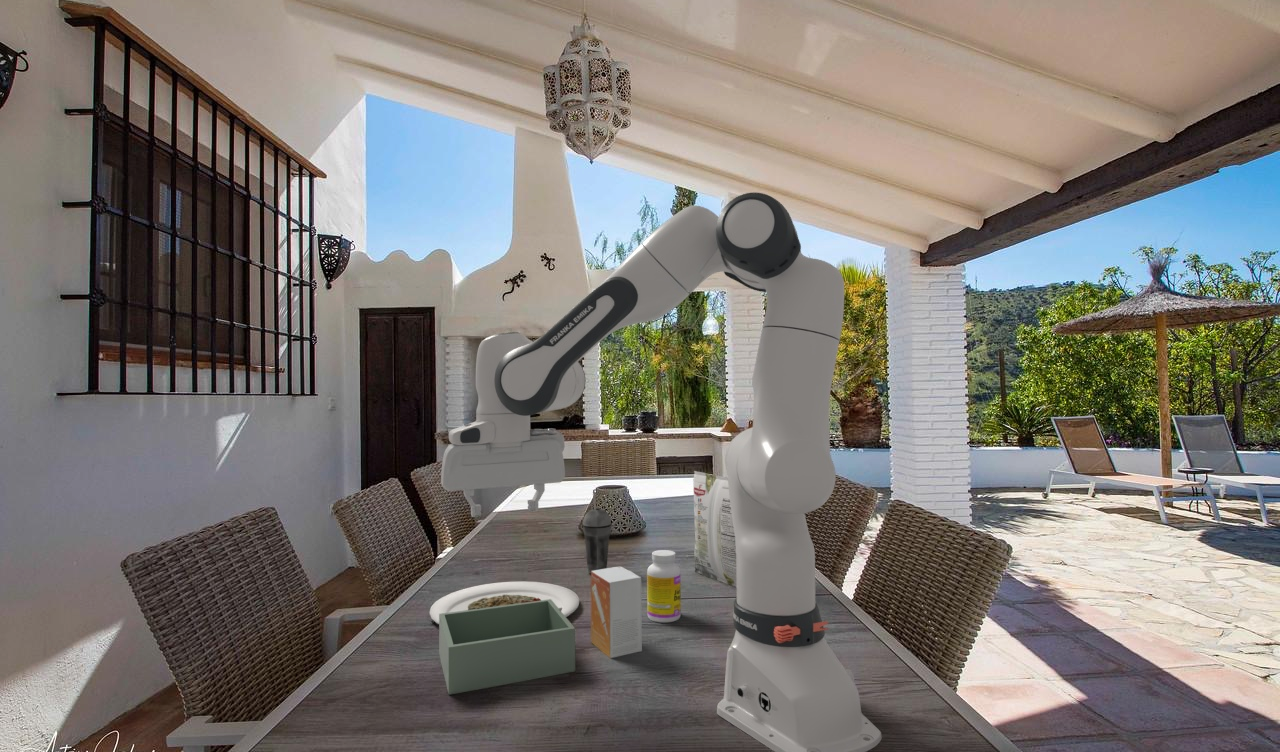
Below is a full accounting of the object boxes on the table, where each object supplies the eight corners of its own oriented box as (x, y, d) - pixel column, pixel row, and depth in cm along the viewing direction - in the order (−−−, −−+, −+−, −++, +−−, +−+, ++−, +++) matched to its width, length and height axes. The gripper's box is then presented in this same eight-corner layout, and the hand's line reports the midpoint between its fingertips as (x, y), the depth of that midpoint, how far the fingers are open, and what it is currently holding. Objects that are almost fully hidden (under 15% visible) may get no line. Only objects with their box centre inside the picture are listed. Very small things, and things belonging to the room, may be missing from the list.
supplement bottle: (678, 625, 125) (677, 557, 125) (644, 622, 126) (643, 556, 126) (682, 613, 131) (682, 549, 131) (650, 611, 132) (650, 547, 133)
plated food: (458, 589, 149) (458, 574, 150) (588, 590, 148) (588, 575, 148) (404, 639, 120) (404, 621, 120) (566, 642, 118) (566, 623, 118)
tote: (575, 672, 104) (575, 628, 104) (448, 694, 97) (448, 647, 97) (551, 637, 119) (550, 599, 119) (439, 654, 111) (439, 613, 111)
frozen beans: (762, 592, 144) (760, 479, 145) (742, 596, 141) (741, 481, 142) (704, 570, 162) (703, 469, 162) (685, 573, 159) (684, 471, 159)
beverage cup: (617, 570, 162) (617, 489, 163) (600, 577, 156) (599, 494, 156) (594, 565, 166) (593, 487, 166) (576, 572, 160) (576, 491, 160)
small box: (590, 643, 116) (589, 570, 116) (622, 636, 119) (621, 565, 119) (609, 660, 109) (609, 582, 109) (643, 652, 112) (642, 576, 112)
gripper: (559, 426, 115) (560, 504, 115) (439, 432, 107) (440, 515, 107) (569, 428, 109) (570, 511, 109) (442, 434, 102) (444, 523, 101)
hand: (505, 513), depth 108 cm, fingers open, 8 cm apart
